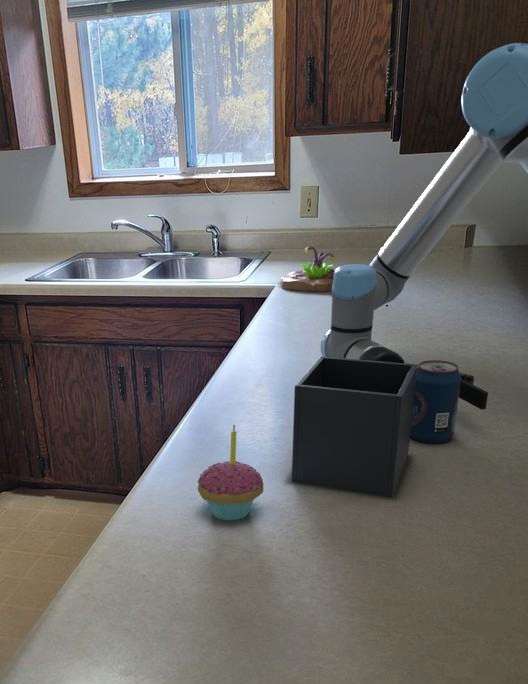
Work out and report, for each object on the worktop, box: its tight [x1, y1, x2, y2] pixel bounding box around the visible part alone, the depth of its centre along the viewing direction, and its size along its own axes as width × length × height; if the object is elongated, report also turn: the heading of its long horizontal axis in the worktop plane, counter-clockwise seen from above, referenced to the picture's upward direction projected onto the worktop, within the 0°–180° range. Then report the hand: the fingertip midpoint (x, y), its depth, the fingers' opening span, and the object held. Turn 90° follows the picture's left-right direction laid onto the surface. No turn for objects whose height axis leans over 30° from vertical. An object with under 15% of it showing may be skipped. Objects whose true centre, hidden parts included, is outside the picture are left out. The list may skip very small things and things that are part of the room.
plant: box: [281, 246, 336, 293], centre depth 220 cm, size 20×20×11 cm
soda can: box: [410, 359, 461, 445], centre depth 114 cm, size 7×7×12 cm
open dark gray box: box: [291, 355, 419, 498], centre depth 104 cm, size 14×14×15 cm
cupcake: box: [197, 424, 264, 521], centre depth 95 cm, size 9×8×12 cm
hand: (445, 406), depth 111 cm, fingers open, 13 cm apart
